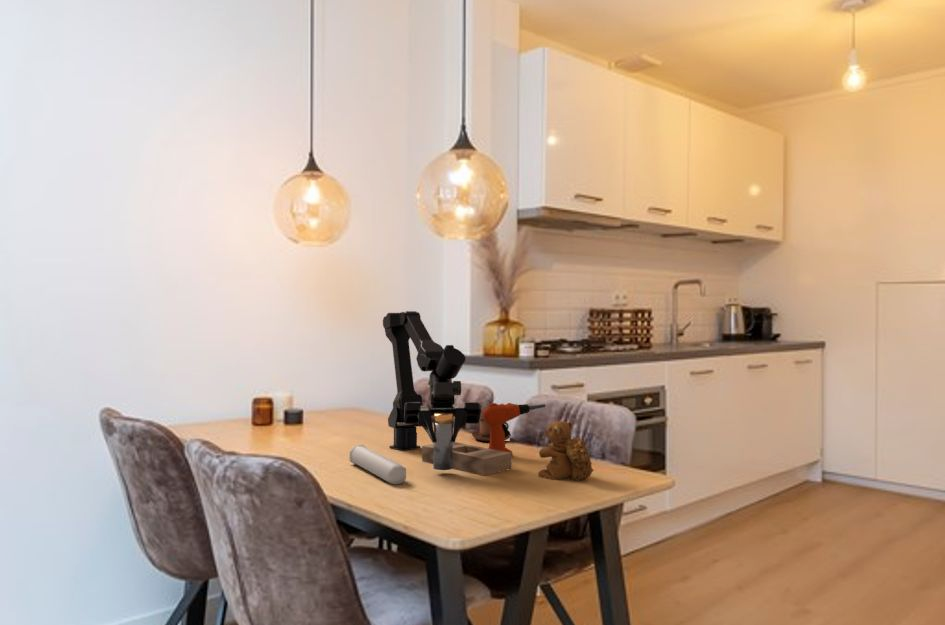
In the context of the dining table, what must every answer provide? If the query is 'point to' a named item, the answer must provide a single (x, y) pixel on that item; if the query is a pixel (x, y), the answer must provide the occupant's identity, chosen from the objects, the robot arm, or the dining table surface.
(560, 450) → the stuffed squirrel
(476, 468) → the grey hollow block
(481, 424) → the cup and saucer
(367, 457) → the tube
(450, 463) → the metallic cylinder
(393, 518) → the dining table surface
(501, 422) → the toy drill
